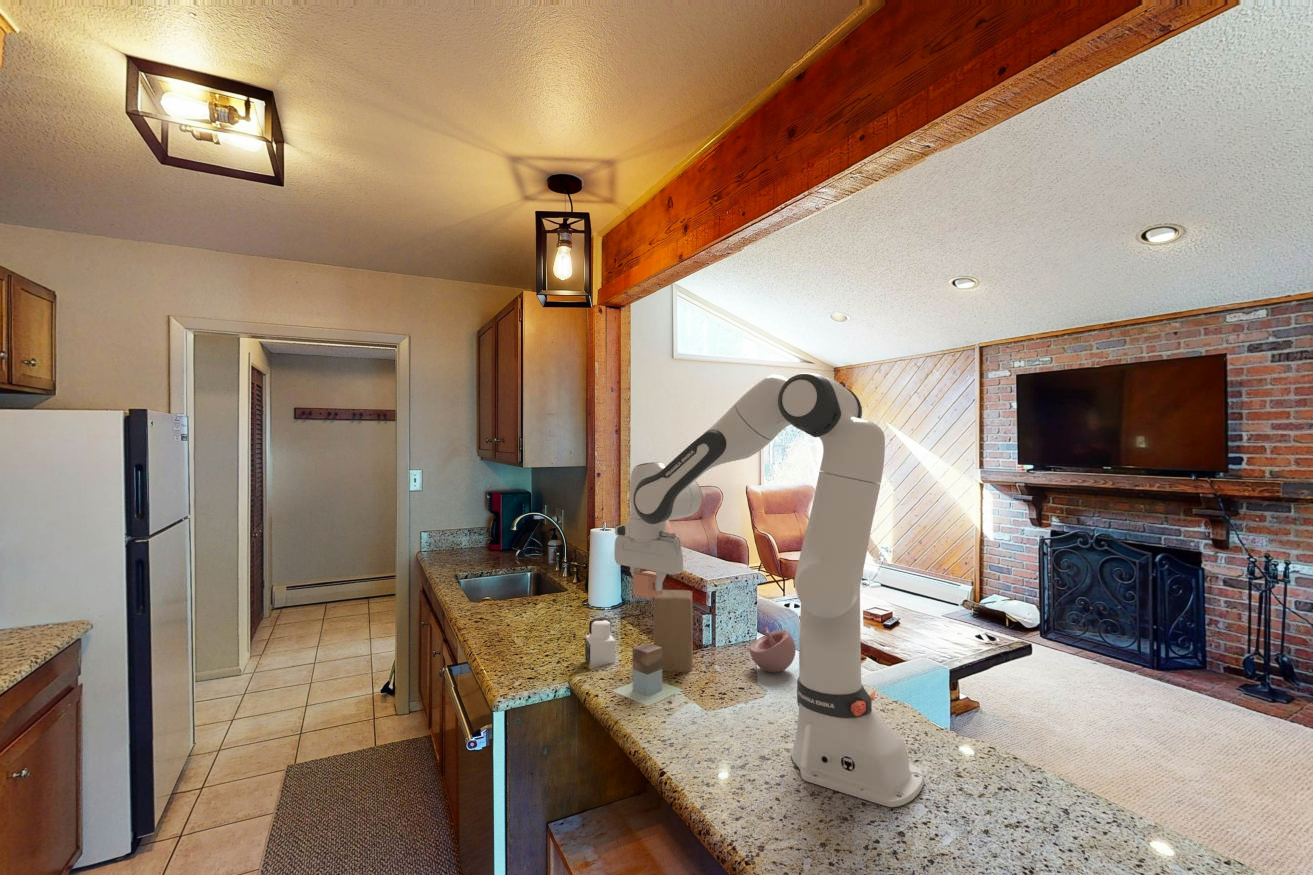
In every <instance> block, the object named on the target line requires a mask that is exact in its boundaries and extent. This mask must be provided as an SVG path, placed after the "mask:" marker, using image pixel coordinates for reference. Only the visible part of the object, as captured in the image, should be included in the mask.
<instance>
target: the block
mask: <svg viewBox="0 0 1313 875" xmlns="http://www.w3.org/2000/svg"><path fill="white" fill-rule="evenodd" d="M652 602H653V605H652V606H653V614H652V615H653V619H652V620H653V621H652V622H653V638H652V639H653V645H656V646H659V647H662V672H682V673H685V672H686V673H690V672H692V671H693V664H694V663H693V662H694V658H693V657H694V656H693V655H694V654H693V652H694V651H693V648H694V644H693V642H694V641H693V640H694V639H693V638H694V637H693V636H694V635H693V634H694V633H693V629H694V626H693V624H694V623H693V621H694V620H693V615H694V614H693V610H694V609H693V605H694V604H693V592H692V591H691V590H689V589H686V590H685V589H662V595H659V596H655V597H653V600H652Z"/></svg>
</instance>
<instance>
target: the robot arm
mask: <svg viewBox="0 0 1313 875" xmlns="http://www.w3.org/2000/svg"><path fill="white" fill-rule="evenodd" d="M862 416H863V407H862V404H861V401H860V399H859V398H858V396H857V395H856V393H854V392H853V391H852V390H850V389H849V388H848V387H845V386H843V385H842V384H841V383H840V382H838V381H837V380H835V379H832V378H830V377H827V376H823V375H821V374H818V373H814V372H802V373H798V374H796V375H793V376H792V377H790V378H786V377H784V376H783V375H777V374H772V375H768V376H766V377H764V379H762V380H760V381H759V382H758V383H756V384H754V386H753V387H751V388H750V389H749V390H748V391H747V392H745V393H744V394H743V395H742V396H741V397H740V398H739V399H738V400H737V401H736V402H735V403H734V404H733V405H732V406H731V407H730V408H729V409H728V411H726V412H725V413H724V414H723V415H722V416H721V418H719V419H718V420H717V421H716V422H715V423H714V424H713V425H711V427H710V428H708V429H707V430H705V432H703V434H701V435H700V436H699V437H698V438H696V439H695V440H693V442H692V443H691V444H689V445H688V446H687V447H685V448H684V449H683V451H681V452H680V453H679V454H678V455H677V456H676V457H675V458H674V459H673V460H671V461H670V462H669V463H668V464H667V465H665V464H664V463H663V462H659V461H656V462H655V461H651V462H646V463H641V464H640V463H639V464H638V465H637V464H636V465H635V466H634V468H632V471H631V476H630V482H629V483H630V484H629V502H630V503H629V504H630V507H631V509H630V513H629V522H626V523H622V524H621V525H618V526H616V527H614V535H615V536H616V537H615V539H614V549H613V550H614V561H615V563H616V565H620V566H624V567H629V568H630V570H629V572H630V573H631V576H632V577H633V574H634V573H639V572H641V570H645V571H651V572H656V576H658V577H657V579H656V582H654V583H653V590H656V591H660V590H663V582H664V580H665V578H666V576H667V574H668V575H678V574H680V573H682V572H683V569H684V558H683V557H684V556H683V549H682V542H681V539H680V537H679V536H678V535H677V534H676V533H674V532H667V521H673V520H680V519H685V518H689V517H691V516H694V515H695V514H697V513H698V512H699V510H700V509H701V507H702V504H703V492H702V489H701V486H700V485H699V483H698V482H697V481H696V480H697V479H698V478H701V476H702V475H703V474H704V473H706V472H707V471H709V470H710V469H713V468H714V467H717V466H721V465H723V464H726V463H730V462H735V461H739V460H745V459H748V458H750V457H752V456H753V455H756V454H757V453H759V452H760V451H761V450H763V449H764V448H766V446H768V445H769V443H771V442H772V441H773V440H774V439H775V438H776V437H777V436H778V435H779V434H780V433H781V432H782V431H783V430H784V429H785V428H787V427H788V426H791V425H792V426H793V427H795V428H796V429H798V430H800V431H802V432H804V433H805V434H807V435H809V436H811V437H813V438H819V439H820V442H821V443H822V447H823V448H822V449H823V453H822V459H821V463H820V468H819V471H818V476H817V482H816V485H815V490H814V491H815V492H814V496H813V500H812V505H811V509H810V513H809V517H808V522H807V525H806V529H805V534H804V538H803V542H802V545H801V550H800V554H799V559H798V561H797V562H798V563H797V567H796V572H795V576H794V589H795V592H796V596H797V598H798V599H799V602H800V615H799V617H800V618H799V633H798V656H799V657H798V658H799V659H798V660H799V661H798V662H799V663H798V664H799V666H798V667H799V669H798V671H799V674H798V675H799V676H798V677H797V680H796V682H797V683H796V684H797V685H796V701H797V706H798V718H797V725H796V726H797V727H796V733H795V739H794V742H793V747H792V749H791V759H792V762H793V763H794V765H796V767H797V768H798V769H799V773H800V777H801V778H802V780H803V781H805V782H808V783H811V784H815V785H818V786H821V787H823V788H824V787H825V788H827V789H830V790H833V791H836V792H840V793H843V794H846V795H849V796H852V797H856V798H858V799H862V800H864V801H865V800H866V801H869V802H872V803H875V804H878V805H881V806H884V807H888V808H895V807H897V808H898V807H901V806H903V805H904V806H905V805H906V804H908V803H911V801H912V800H914V799H915V798H916V797H917V796H918V795H919V793H920V792H921V791H922V789H923V786H924V775H923V771H922V770H921V768H920V767H918V766H915V765H914V764H912V763H910V761H909V756H908V750H907V746H906V743H905V741H904V740H903V738H902V737H901V736H900V734H898V733H897V731H894V729H892V727H890V725H889V724H888V723H887V722H885V721H884V720H883V718H881V717H880V716H879V715H878V714H877V712H875V711H874V710H873V708H872V707H873V706H872V704H873V703H872V702H873V701H874V700H875V699H876V697H875V695H876V692H875V691H873V692H872V693H871V694H869V693H868V692H867V691H866V689H865V687H864V685H863V683H862V654H861V653H862V651H861V650H862V646H861V644H862V643H861V583H862V579H863V573H864V568H865V562H866V559H867V553H868V547H869V542H870V537H871V532H872V527H873V521H874V518H875V512H876V507H877V504H878V498H879V493H880V489H881V483H882V479H883V473H884V466H885V452H886V450H885V449H886V437H885V434H884V431H883V430H882V428H881V427H880V426H879V425H877V424H876V423H875V422H873V421H870V420H869V419H865V418H862Z"/></svg>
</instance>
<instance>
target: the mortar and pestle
mask: <svg viewBox="0 0 1313 875" xmlns="http://www.w3.org/2000/svg"><path fill="white" fill-rule="evenodd" d="M764 632H765V633H764V634H765V635H763V636H761V637H759V638H758V639H756V640H755V641H754V642H753V643H752V644H750V646H749V648H748V649H749V654H750V657H751V658H752V661H753V662H754V664H756V666H757V667H758V668H760V669H762V670H763V671H765V672H769V673H781V672H783V671H785V670H787V669H788V668H789V667H790V666H791V664H792V663H793V661H794V659H795V656H796V644H795V643H796V642H795V640H794V638H793V636H792V635H791V633H790V632H789V630H787V629H785V628H784V629H782V628H781V629H777V630H773V631H772V632H770V631H769V628H768V626H765V627H764Z"/></svg>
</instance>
